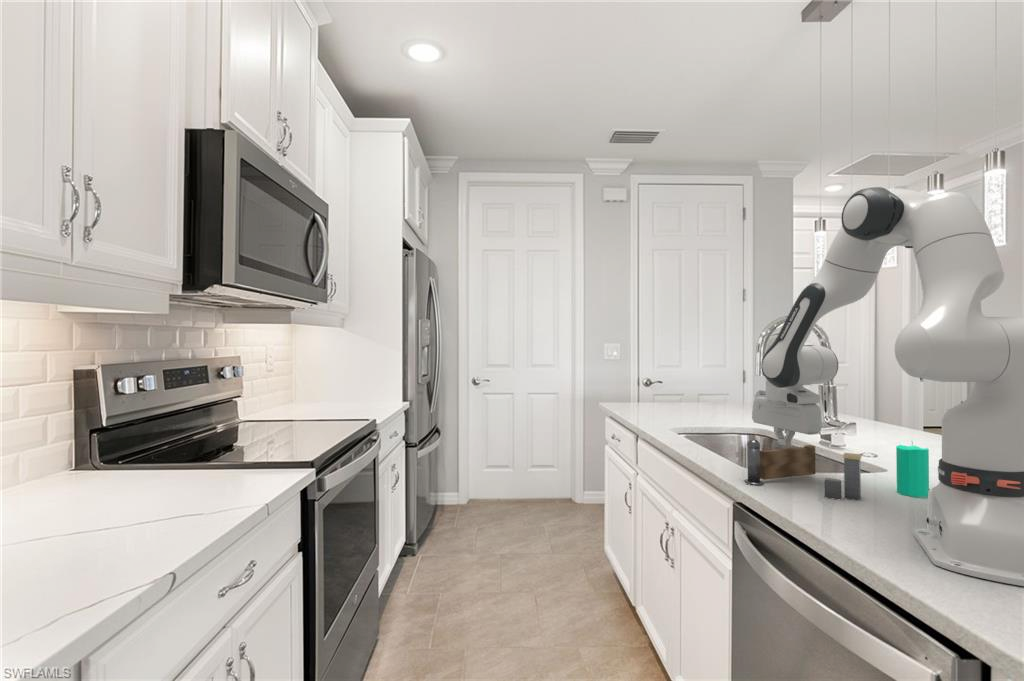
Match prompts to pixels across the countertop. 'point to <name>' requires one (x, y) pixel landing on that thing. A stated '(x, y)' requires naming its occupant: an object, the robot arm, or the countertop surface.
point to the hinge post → (753, 463)
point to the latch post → (846, 479)
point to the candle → (912, 470)
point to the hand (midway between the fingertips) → (784, 445)
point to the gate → (787, 462)
